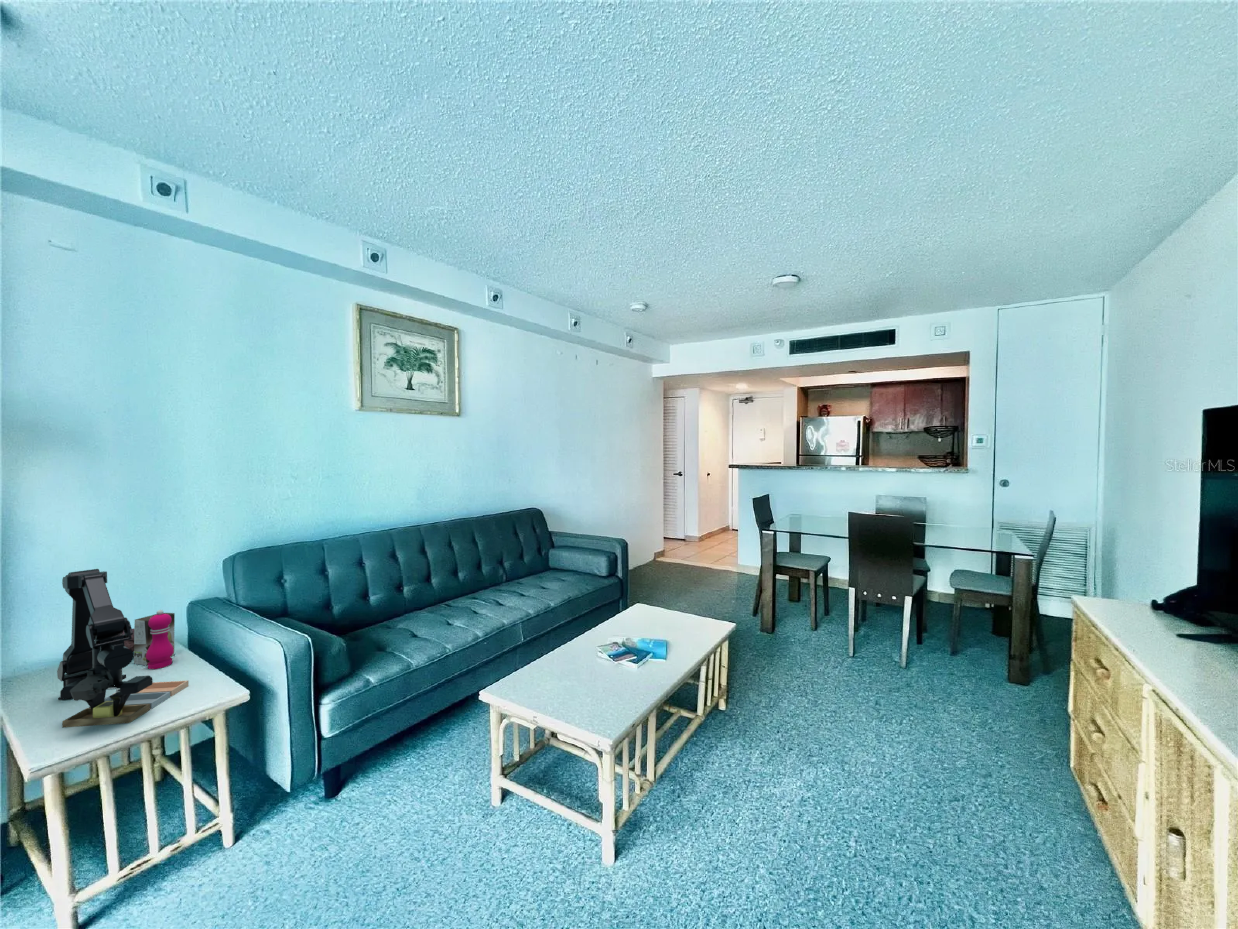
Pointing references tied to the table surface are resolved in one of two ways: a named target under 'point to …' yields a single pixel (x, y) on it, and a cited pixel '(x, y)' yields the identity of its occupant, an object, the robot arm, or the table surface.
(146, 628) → the coffee box
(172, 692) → the tray
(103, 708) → the letter cube
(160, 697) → the tray
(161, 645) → the pepper mill
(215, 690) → the table surface
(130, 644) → the pine cone
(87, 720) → the tray
